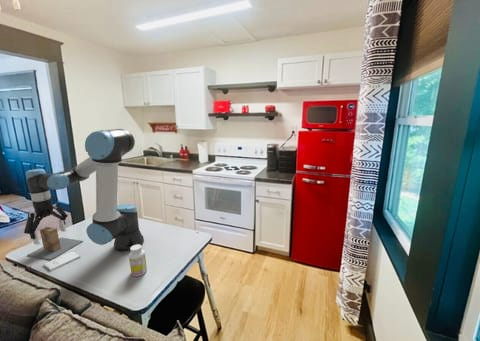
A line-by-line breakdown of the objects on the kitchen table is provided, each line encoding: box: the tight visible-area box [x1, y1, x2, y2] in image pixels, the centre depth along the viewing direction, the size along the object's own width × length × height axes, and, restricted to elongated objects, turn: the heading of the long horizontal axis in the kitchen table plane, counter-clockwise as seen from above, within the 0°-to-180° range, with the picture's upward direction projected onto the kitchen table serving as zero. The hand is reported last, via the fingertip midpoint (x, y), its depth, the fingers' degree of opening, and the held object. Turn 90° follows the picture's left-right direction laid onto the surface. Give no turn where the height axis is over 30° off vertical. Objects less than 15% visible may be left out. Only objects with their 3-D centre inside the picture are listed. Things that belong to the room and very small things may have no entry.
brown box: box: [39, 226, 61, 252], centre depth 122 cm, size 7×4×12 cm, turn 76°
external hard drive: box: [43, 251, 81, 272], centre depth 114 cm, size 2×8×12 cm
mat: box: [26, 237, 84, 261], centre depth 126 cm, size 16×18×1 cm
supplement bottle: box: [128, 244, 148, 277], centre depth 105 cm, size 7×7×13 cm
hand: (50, 237), depth 122 cm, fingers open, 13 cm apart
